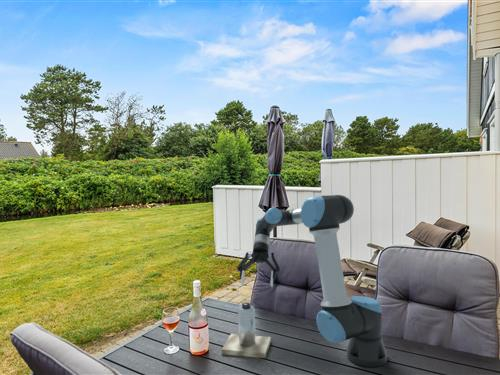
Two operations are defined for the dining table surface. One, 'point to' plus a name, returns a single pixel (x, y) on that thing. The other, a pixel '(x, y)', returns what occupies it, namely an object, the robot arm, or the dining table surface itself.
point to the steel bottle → (246, 325)
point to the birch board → (253, 351)
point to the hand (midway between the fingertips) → (256, 285)
